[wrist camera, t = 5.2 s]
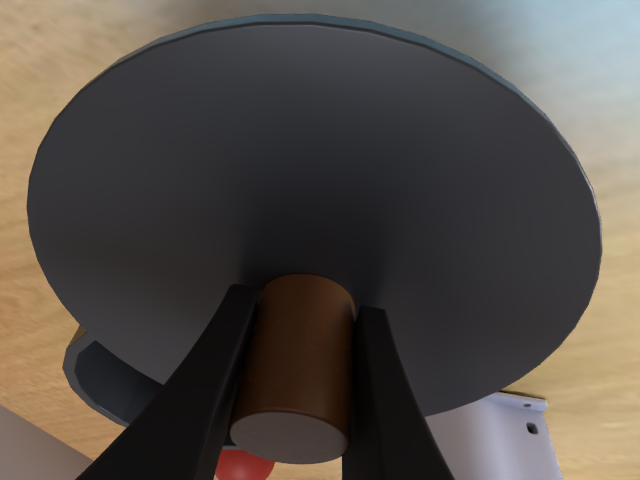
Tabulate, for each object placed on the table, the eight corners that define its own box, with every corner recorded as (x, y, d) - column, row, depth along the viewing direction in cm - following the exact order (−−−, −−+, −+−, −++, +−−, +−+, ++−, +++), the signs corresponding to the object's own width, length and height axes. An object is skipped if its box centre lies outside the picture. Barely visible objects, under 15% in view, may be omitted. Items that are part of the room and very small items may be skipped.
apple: (284, 412, 36) (272, 495, 31) (277, 438, 39) (266, 517, 35) (220, 402, 36) (198, 484, 31) (219, 429, 39) (200, 507, 35)
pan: (339, 262, 24) (334, 350, 20) (304, 385, 33) (295, 462, 29) (90, 219, 23) (32, 301, 19) (124, 356, 32) (89, 431, 28)
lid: (743, 86, 8) (1014, 269, 5) (457, 421, 18) (478, 562, 14) (-42, -76, 7) (-393, 3, 4) (101, 366, 17) (34, 500, 14)
